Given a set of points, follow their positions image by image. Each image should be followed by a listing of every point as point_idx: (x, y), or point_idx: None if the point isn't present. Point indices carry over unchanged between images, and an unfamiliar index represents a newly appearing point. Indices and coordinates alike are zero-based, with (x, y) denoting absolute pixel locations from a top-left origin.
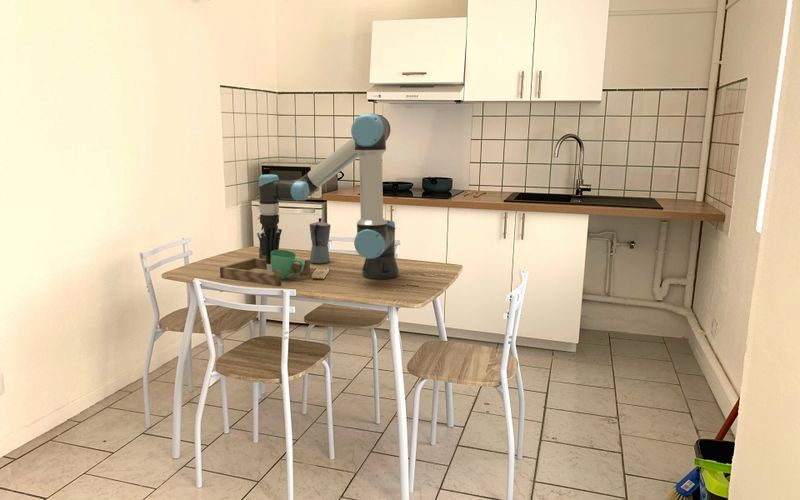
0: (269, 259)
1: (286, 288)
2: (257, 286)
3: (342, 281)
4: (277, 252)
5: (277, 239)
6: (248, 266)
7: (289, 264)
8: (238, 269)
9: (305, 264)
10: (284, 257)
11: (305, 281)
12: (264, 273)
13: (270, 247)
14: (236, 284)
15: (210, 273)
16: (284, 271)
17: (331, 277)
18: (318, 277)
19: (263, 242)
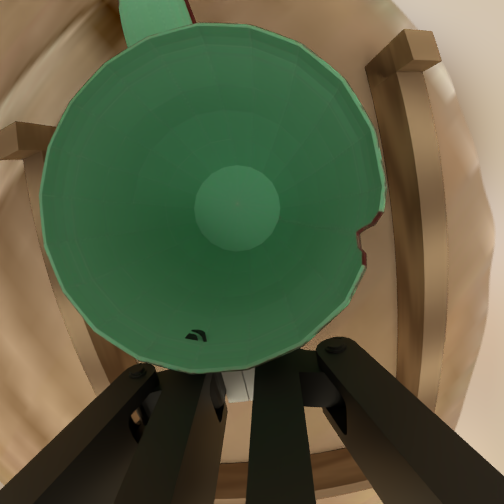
0: None
1: (386, 4)
2: (463, 167)
3: None
4: (161, 345)
5: (61, 486)
6: (227, 475)
7: (220, 81)
8: (424, 402)
9: (36, 144)
10: (303, 45)
11: (197, 19)
12: (436, 181)
13: (275, 413)
14: (481, 292)
15: (368, 494)
16: (260, 128)
17: (53, 14)
18: (82, 48)
19: (469, 463)
